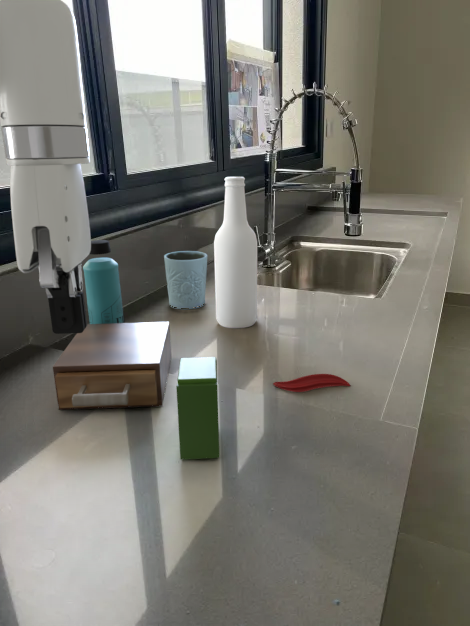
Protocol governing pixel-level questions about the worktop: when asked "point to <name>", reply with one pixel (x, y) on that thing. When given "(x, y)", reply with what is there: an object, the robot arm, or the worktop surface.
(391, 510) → the worktop surface
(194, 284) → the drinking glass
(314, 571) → the worktop surface
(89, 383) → the drawer
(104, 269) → the beverage bottle
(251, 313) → the alcohol
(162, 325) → the cabinet
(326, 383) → the cayenne pepper
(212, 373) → the tall green carton
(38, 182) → the robot arm
